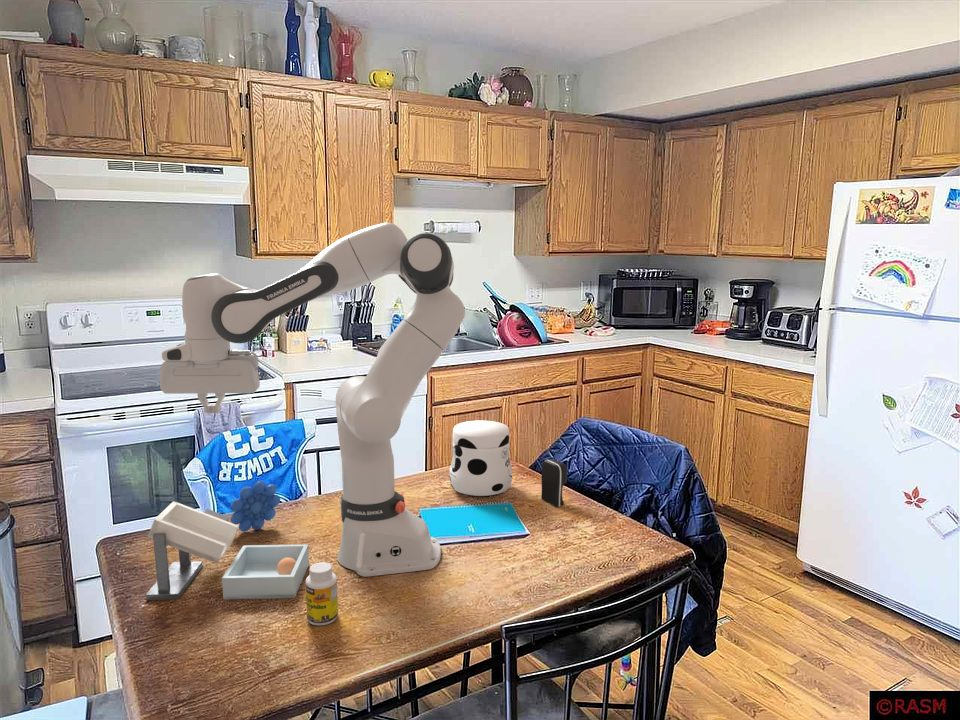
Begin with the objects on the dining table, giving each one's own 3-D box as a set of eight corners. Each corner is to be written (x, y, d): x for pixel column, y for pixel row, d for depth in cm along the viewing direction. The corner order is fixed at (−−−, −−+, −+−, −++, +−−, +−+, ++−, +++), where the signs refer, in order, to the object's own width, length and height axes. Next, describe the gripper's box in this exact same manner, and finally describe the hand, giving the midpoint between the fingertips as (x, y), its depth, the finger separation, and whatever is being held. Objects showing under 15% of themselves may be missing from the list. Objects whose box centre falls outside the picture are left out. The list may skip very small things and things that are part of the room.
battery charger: (568, 505, 173) (569, 463, 171) (557, 508, 171) (558, 466, 169) (551, 496, 179) (552, 456, 177) (540, 499, 177) (541, 458, 175)
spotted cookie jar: (524, 490, 184) (526, 427, 180) (481, 508, 171) (482, 441, 168) (479, 474, 195) (480, 415, 192) (436, 490, 183) (435, 428, 180)
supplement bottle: (301, 624, 120) (298, 572, 118) (317, 608, 125) (315, 557, 123) (328, 629, 118) (326, 576, 116) (343, 613, 124) (341, 562, 122)
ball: (301, 555, 136) (281, 552, 136) (296, 565, 132) (276, 561, 132) (297, 573, 137) (278, 569, 137) (293, 583, 133) (273, 579, 133)
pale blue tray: (309, 563, 142) (308, 544, 141) (294, 598, 129) (293, 576, 128) (244, 565, 141) (243, 545, 140) (223, 599, 128) (221, 578, 127)
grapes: (277, 518, 165) (274, 472, 163) (284, 528, 159) (281, 480, 157) (227, 528, 159) (224, 480, 157) (233, 539, 153) (230, 490, 151)
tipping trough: (243, 526, 145) (249, 511, 145) (217, 563, 129) (224, 545, 128) (181, 503, 143) (187, 487, 143) (147, 537, 127) (154, 519, 127)
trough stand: (202, 566, 141) (198, 508, 138) (178, 599, 128) (172, 536, 125) (173, 567, 140) (168, 509, 138) (146, 600, 128) (140, 537, 125)
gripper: (261, 347, 145) (265, 408, 148) (166, 347, 144) (171, 409, 147) (253, 352, 139) (257, 416, 142) (153, 352, 138) (159, 417, 141)
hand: (212, 412), depth 144 cm, fingers closed
